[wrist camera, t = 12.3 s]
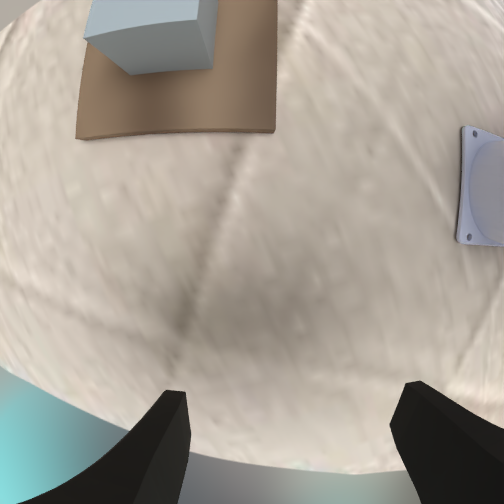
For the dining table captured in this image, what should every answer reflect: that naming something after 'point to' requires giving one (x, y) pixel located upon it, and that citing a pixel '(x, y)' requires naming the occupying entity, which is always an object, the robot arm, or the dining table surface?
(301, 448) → the dining table surface
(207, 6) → the slate block
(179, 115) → the walnut base board
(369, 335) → the dining table surface
